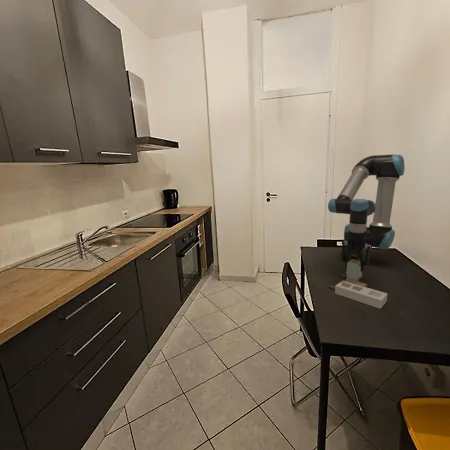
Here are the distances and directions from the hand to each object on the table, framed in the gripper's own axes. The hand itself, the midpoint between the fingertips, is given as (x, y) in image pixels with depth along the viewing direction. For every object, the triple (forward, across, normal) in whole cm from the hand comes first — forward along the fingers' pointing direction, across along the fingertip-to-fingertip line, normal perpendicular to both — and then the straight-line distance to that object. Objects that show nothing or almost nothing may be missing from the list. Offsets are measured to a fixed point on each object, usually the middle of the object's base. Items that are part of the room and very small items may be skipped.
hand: (353, 275), depth 132 cm
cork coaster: (+6, 0, 0) cm, 6 cm away
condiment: (+6, -5, +11) cm, 14 cm away
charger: (+3, 0, 0) cm, 3 cm away
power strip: (+6, +4, -10) cm, 12 cm away
